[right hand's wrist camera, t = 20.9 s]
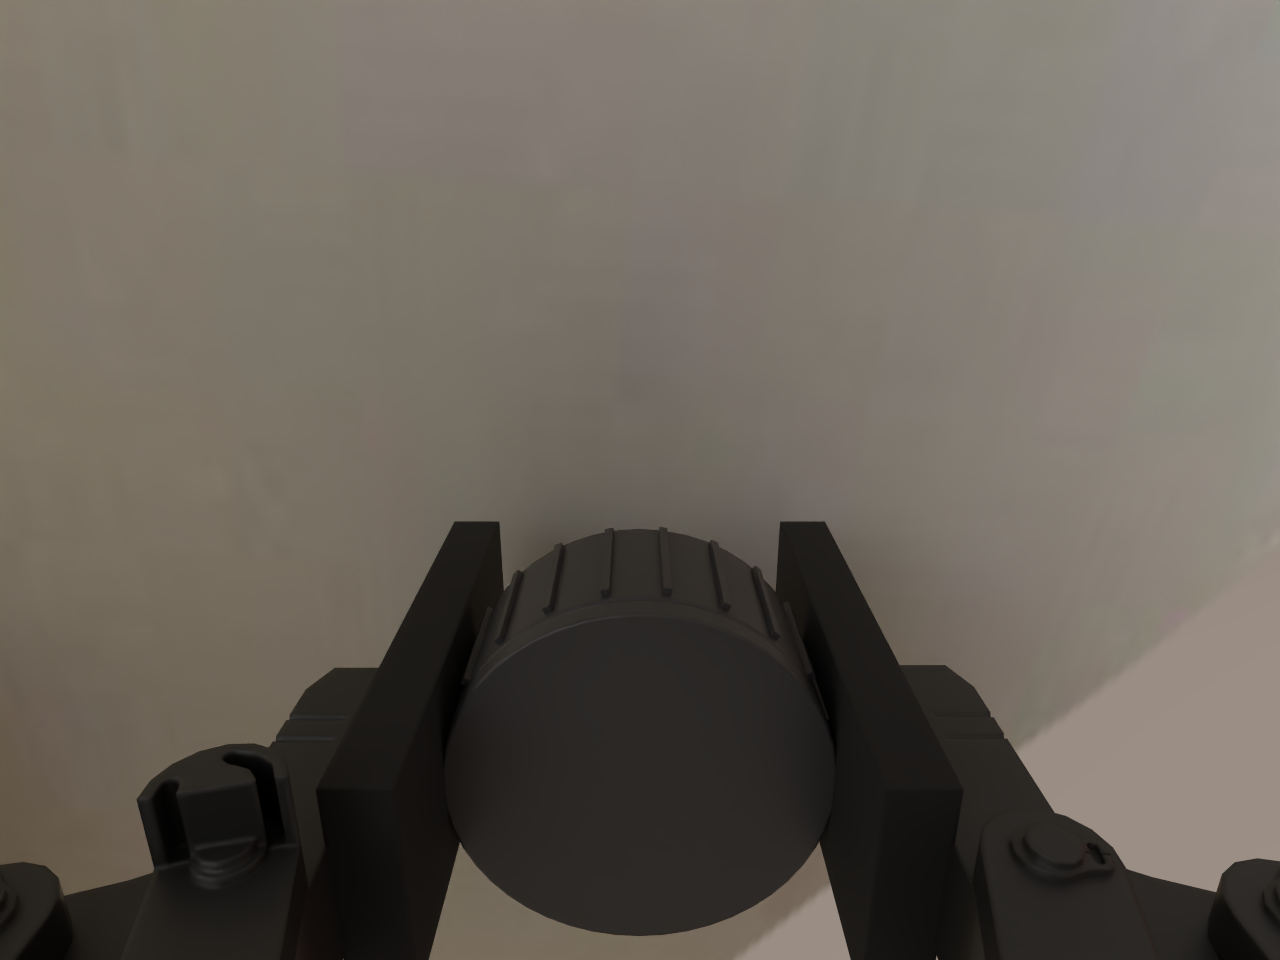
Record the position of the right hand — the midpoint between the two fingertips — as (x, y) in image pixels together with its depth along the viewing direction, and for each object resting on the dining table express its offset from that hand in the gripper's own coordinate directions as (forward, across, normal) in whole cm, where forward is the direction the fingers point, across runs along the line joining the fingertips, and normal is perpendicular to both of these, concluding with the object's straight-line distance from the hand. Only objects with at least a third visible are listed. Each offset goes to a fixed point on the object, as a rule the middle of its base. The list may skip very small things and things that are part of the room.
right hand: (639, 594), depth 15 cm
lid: (-4, 0, 0) cm, 4 cm away
